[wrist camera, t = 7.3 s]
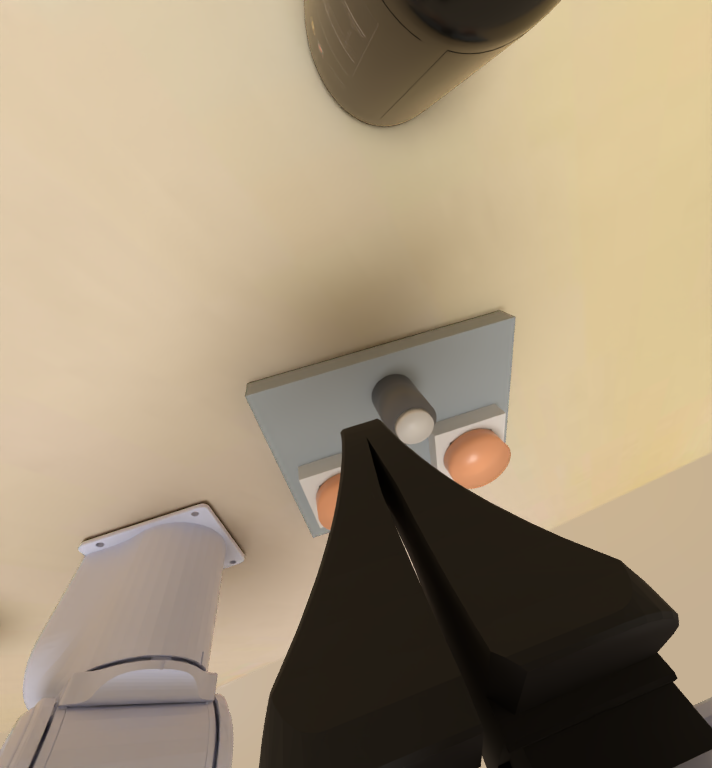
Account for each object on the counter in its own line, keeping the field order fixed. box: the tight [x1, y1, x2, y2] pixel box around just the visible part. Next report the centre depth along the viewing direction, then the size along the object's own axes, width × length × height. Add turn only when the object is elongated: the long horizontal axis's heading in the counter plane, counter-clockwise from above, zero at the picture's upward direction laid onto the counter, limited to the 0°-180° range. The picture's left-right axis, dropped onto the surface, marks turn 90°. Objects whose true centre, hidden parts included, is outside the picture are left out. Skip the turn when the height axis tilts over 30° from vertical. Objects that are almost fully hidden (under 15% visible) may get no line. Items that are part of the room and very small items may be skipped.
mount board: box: [245, 311, 515, 538], centre depth 23 cm, size 18×15×3 cm
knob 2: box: [444, 429, 511, 489], centre depth 24 cm, size 5×5×4 cm
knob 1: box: [316, 474, 340, 530], centre depth 23 cm, size 5×5×4 cm
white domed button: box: [372, 374, 437, 444], centre depth 19 cm, size 3×3×4 cm
